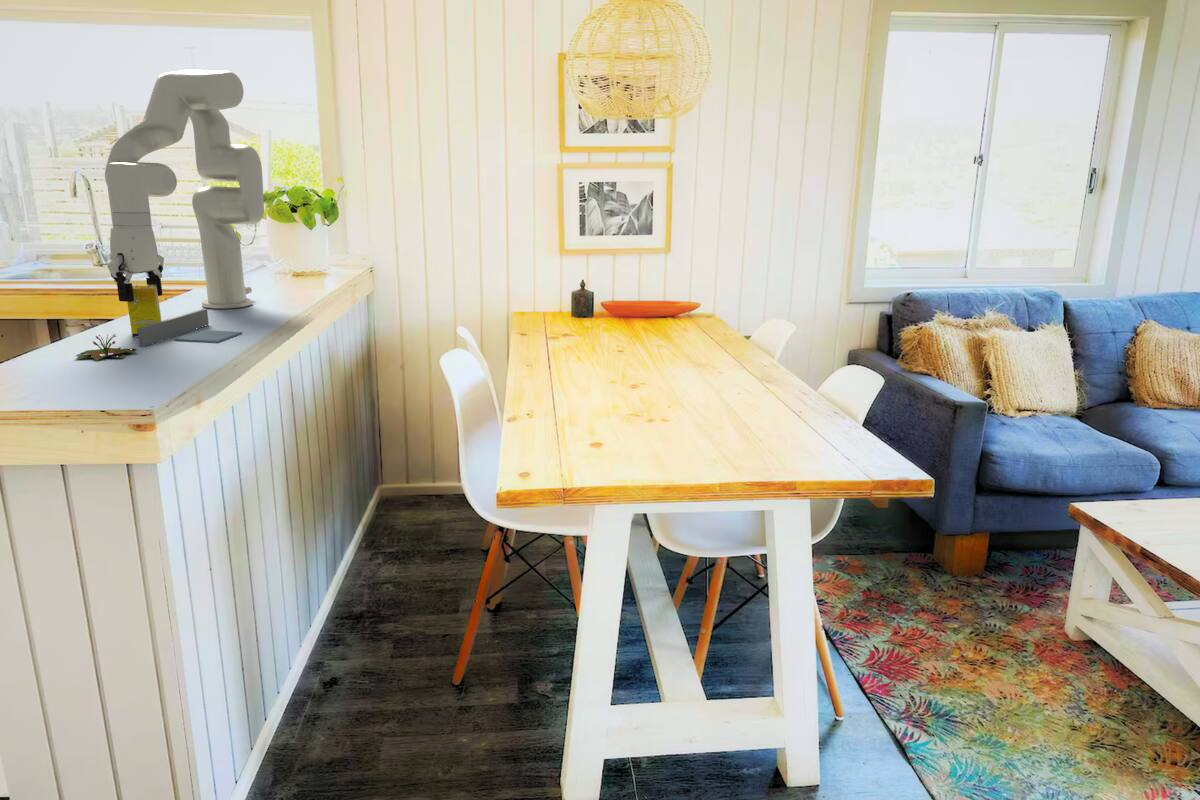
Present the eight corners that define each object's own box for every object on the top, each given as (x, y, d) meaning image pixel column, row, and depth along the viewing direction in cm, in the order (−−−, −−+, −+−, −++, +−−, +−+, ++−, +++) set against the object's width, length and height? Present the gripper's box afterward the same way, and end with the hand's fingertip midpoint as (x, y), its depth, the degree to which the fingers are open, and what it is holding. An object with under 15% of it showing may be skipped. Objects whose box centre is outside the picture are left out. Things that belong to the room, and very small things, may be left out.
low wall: (205, 325, 194) (203, 308, 193) (208, 325, 194) (206, 309, 193) (139, 346, 171) (137, 328, 170) (144, 346, 171) (141, 328, 170)
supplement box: (134, 332, 185) (127, 285, 181) (163, 330, 187) (156, 284, 184) (131, 337, 179) (124, 289, 176) (161, 335, 182) (155, 288, 179)
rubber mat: (201, 331, 187) (201, 329, 187) (242, 333, 186) (241, 331, 186) (175, 340, 177) (174, 338, 177) (217, 342, 176) (217, 341, 176)
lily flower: (62, 364, 157) (58, 342, 156) (86, 351, 168) (83, 329, 167) (128, 363, 159) (125, 340, 158) (148, 350, 171) (145, 328, 169)
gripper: (141, 218, 184) (150, 292, 189) (87, 222, 168) (98, 303, 172) (172, 219, 184) (180, 294, 188) (120, 223, 167) (131, 304, 172)
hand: (141, 298), depth 180 cm, fingers open, 9 cm apart
